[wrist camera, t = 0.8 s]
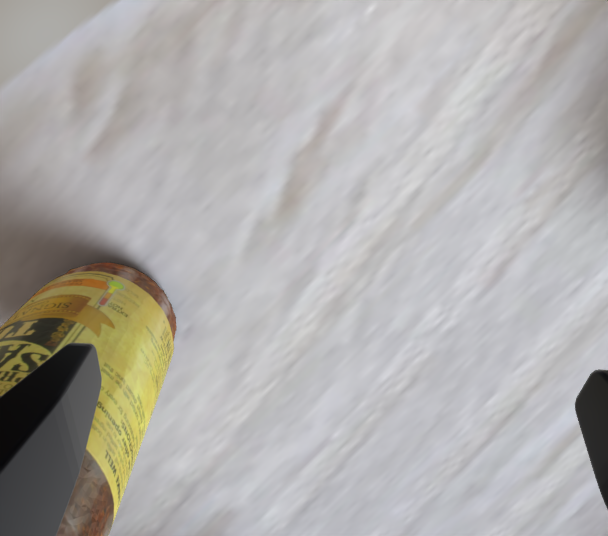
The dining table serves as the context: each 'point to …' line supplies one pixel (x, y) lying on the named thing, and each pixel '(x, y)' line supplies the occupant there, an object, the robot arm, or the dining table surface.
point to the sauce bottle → (113, 365)
